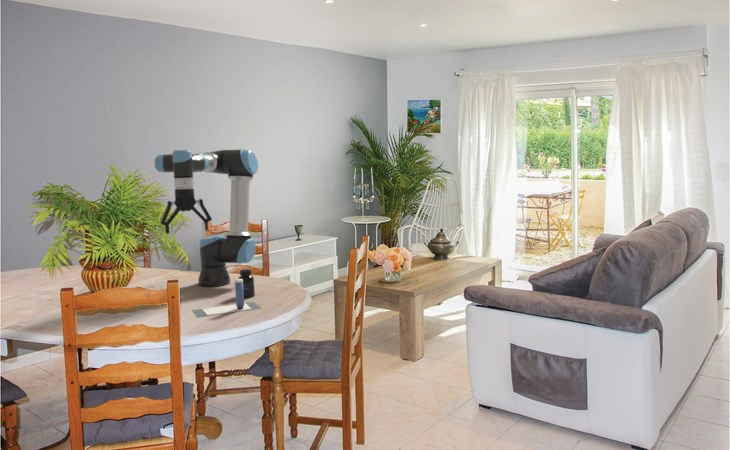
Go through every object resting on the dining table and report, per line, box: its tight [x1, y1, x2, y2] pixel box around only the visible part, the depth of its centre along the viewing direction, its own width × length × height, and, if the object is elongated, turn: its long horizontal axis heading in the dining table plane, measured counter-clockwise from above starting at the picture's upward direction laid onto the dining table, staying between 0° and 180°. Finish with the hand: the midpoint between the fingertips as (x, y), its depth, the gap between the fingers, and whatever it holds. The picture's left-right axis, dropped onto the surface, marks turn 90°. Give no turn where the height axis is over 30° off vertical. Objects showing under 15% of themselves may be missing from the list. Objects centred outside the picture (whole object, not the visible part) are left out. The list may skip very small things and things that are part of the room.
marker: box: [234, 278, 245, 309], centre depth 258 cm, size 3×3×12 cm
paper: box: [201, 302, 251, 316], centre depth 259 cm, size 10×18×1 cm, turn 115°
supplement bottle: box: [237, 268, 256, 299], centre depth 279 cm, size 7×7×12 cm
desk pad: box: [191, 301, 262, 319], centre depth 259 cm, size 12×26×1 cm, turn 115°
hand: (187, 239), depth 259 cm, fingers open, 13 cm apart
